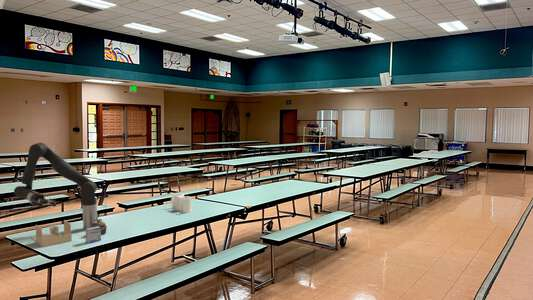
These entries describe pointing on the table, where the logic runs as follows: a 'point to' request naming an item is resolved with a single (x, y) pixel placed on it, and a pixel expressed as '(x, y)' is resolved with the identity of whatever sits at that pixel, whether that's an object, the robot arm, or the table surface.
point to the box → (54, 231)
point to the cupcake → (100, 225)
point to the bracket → (181, 202)
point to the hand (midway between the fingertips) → (48, 205)
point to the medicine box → (93, 234)
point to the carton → (48, 240)
